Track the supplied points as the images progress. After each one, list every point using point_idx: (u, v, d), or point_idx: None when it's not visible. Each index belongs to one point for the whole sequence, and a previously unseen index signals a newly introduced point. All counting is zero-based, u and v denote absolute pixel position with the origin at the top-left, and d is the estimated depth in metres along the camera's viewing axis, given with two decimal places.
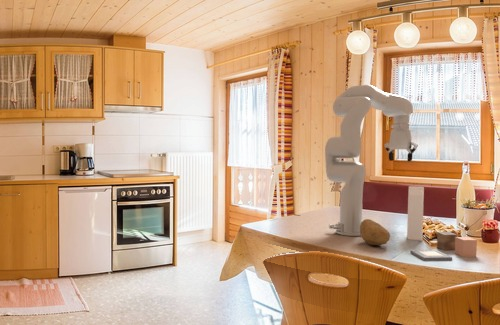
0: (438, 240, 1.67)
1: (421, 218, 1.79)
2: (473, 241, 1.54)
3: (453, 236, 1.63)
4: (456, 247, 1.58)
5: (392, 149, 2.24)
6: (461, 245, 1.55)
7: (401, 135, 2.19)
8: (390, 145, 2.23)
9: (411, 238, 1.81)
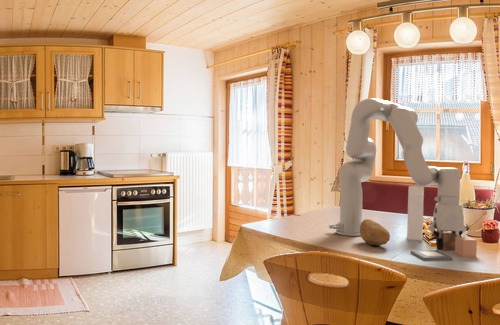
0: None
1: (421, 218, 1.79)
2: (473, 241, 1.54)
3: (453, 236, 1.63)
4: (456, 247, 1.58)
5: (442, 232, 1.64)
6: (461, 245, 1.55)
7: (456, 212, 1.63)
8: (440, 226, 1.62)
9: (411, 238, 1.81)
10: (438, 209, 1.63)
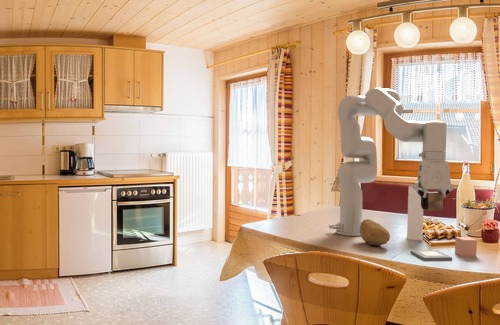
0: None
1: (421, 218, 1.79)
2: (473, 241, 1.54)
3: (439, 195, 1.50)
4: (456, 247, 1.58)
5: (427, 190, 1.52)
6: (461, 245, 1.55)
7: (442, 169, 1.50)
8: (425, 184, 1.50)
9: (411, 238, 1.81)
10: (423, 166, 1.51)
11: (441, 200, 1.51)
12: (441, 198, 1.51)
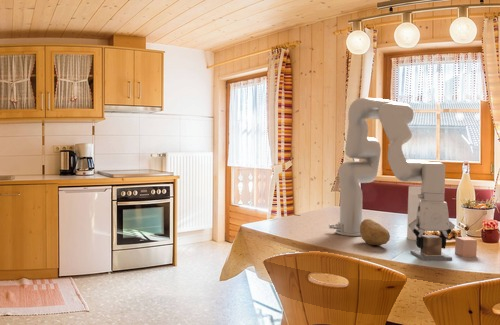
0: None
1: None
2: (473, 241, 1.54)
3: (437, 239, 1.51)
4: (456, 247, 1.58)
5: (424, 231, 1.52)
6: (461, 245, 1.55)
7: (440, 210, 1.51)
8: (423, 225, 1.50)
9: (411, 238, 1.81)
10: (421, 207, 1.51)
11: (439, 245, 1.51)
12: (439, 243, 1.51)
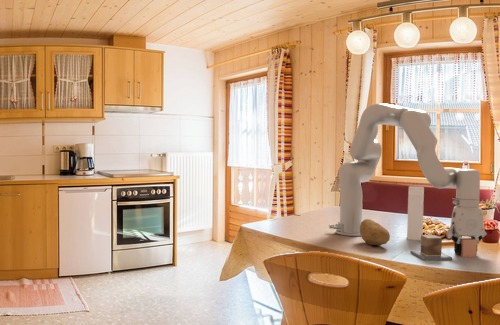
0: (422, 244, 1.55)
1: (421, 218, 1.79)
2: (473, 241, 1.54)
3: (437, 239, 1.51)
4: None
5: (461, 237, 1.55)
6: None
7: (475, 216, 1.54)
8: (459, 230, 1.54)
9: (411, 238, 1.81)
10: (457, 213, 1.54)
11: (439, 245, 1.51)
12: (439, 243, 1.51)
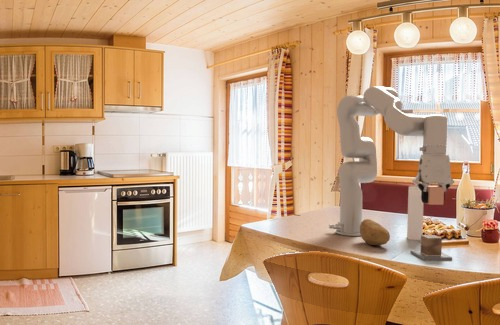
0: (422, 244, 1.55)
1: (421, 218, 1.79)
2: (440, 188, 1.50)
3: (437, 239, 1.51)
4: None
5: None
6: (428, 193, 1.51)
7: (442, 163, 1.50)
8: (425, 177, 1.50)
9: (411, 238, 1.81)
10: (423, 160, 1.50)
11: (439, 245, 1.51)
12: (439, 243, 1.51)
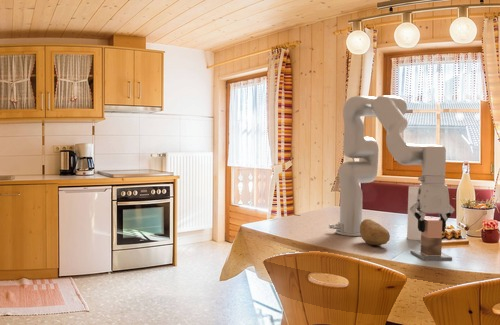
0: (422, 244, 1.55)
1: None
2: (438, 222, 1.51)
3: (437, 239, 1.51)
4: None
5: None
6: (426, 226, 1.52)
7: (441, 193, 1.50)
8: (424, 208, 1.50)
9: (411, 238, 1.81)
10: (422, 190, 1.51)
11: (439, 245, 1.51)
12: (439, 243, 1.51)
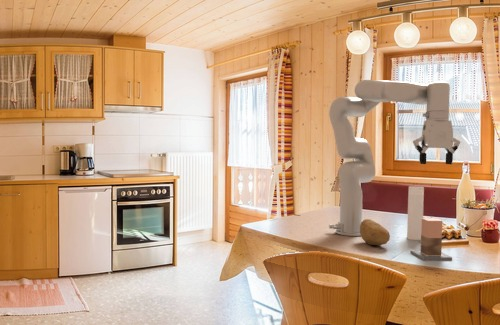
0: (422, 244, 1.55)
1: (421, 218, 1.79)
2: (438, 222, 1.51)
3: (437, 239, 1.51)
4: (422, 228, 1.55)
5: (427, 148, 1.57)
6: (426, 226, 1.52)
7: (445, 128, 1.56)
8: (428, 142, 1.55)
9: (411, 238, 1.81)
10: (426, 125, 1.56)
11: (439, 245, 1.51)
12: (439, 243, 1.51)
